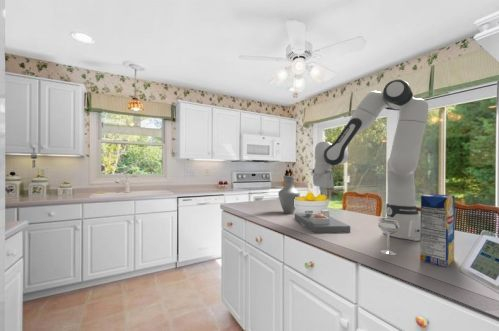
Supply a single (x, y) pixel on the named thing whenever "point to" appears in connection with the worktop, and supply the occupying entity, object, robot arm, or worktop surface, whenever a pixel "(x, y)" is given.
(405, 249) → the worktop surface
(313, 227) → the panel
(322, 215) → the push button
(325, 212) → the paddle
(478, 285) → the worktop surface
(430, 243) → the beverage box
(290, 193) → the vase
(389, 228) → the wineglass
